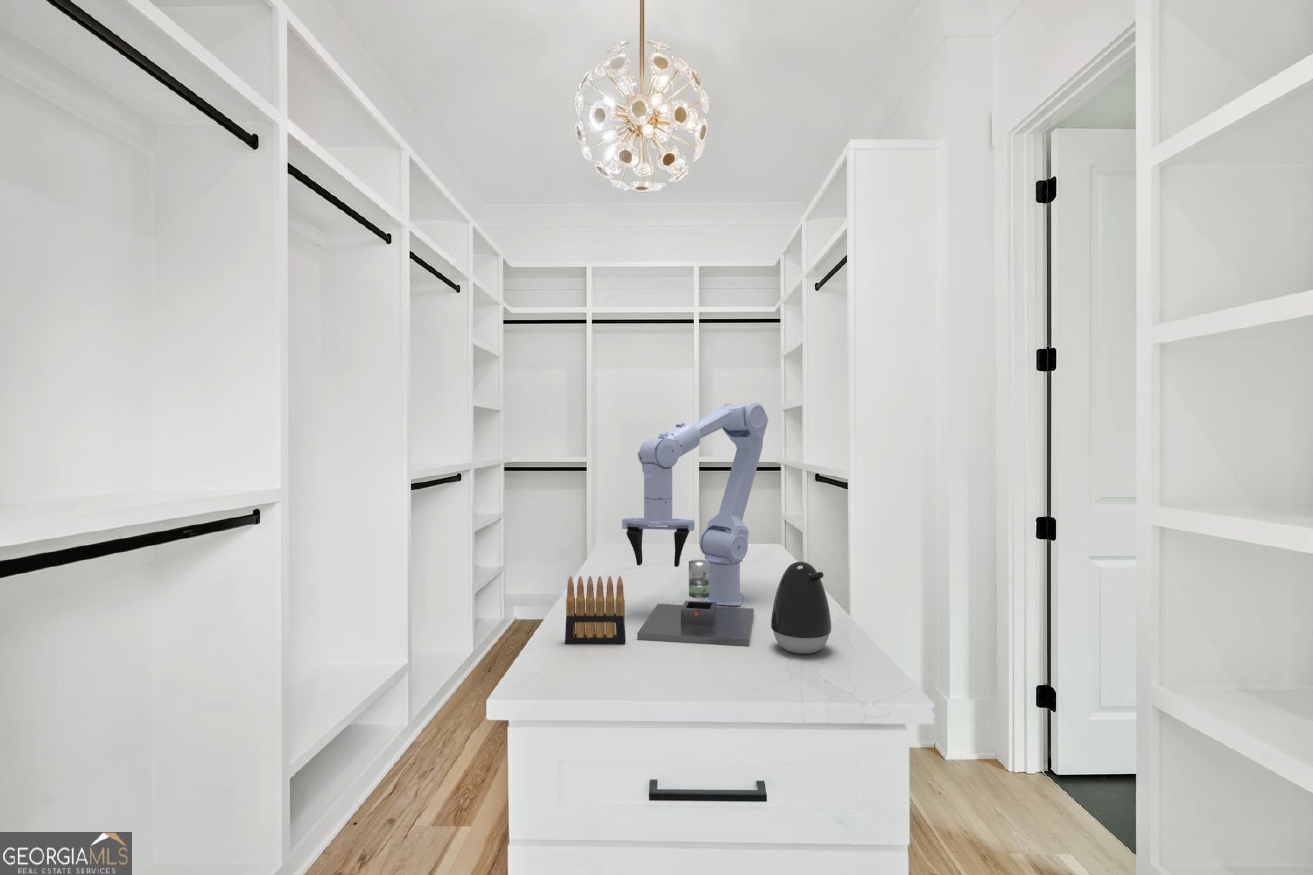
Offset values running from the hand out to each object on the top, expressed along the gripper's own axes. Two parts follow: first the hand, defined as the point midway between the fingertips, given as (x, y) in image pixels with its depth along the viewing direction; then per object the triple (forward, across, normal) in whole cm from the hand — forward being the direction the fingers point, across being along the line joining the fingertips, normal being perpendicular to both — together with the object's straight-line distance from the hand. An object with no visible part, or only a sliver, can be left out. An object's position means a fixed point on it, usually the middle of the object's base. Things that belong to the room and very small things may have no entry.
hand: (658, 565), depth 136 cm
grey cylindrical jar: (+4, +9, -5) cm, 11 cm away
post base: (+10, +9, -5) cm, 15 cm away
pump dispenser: (+11, +28, -15) cm, 33 cm away
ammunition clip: (+11, -8, -18) cm, 22 cm away
